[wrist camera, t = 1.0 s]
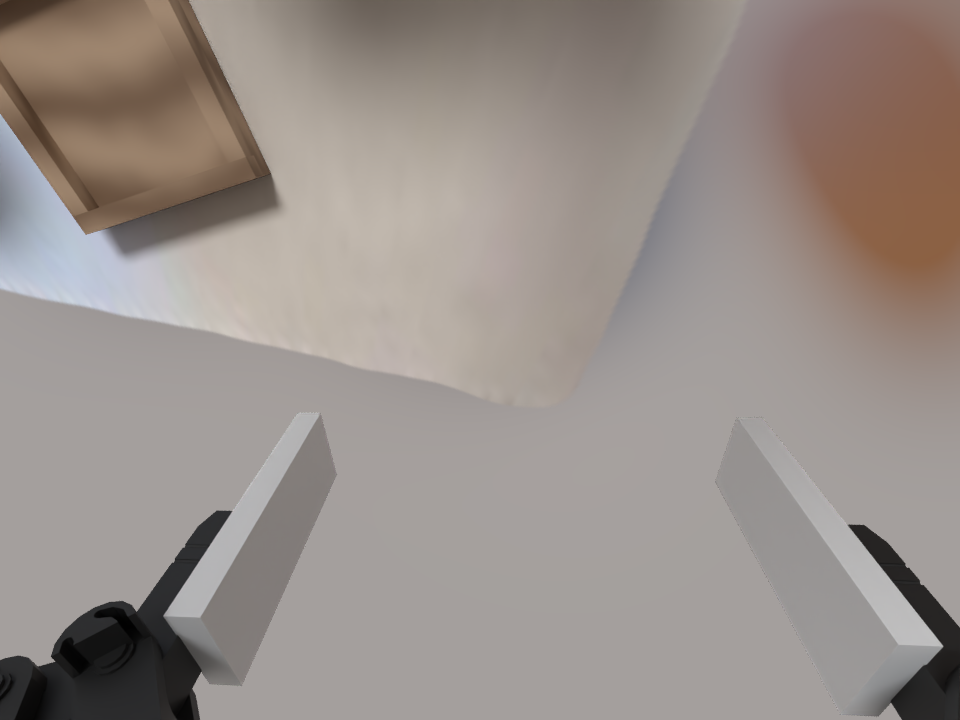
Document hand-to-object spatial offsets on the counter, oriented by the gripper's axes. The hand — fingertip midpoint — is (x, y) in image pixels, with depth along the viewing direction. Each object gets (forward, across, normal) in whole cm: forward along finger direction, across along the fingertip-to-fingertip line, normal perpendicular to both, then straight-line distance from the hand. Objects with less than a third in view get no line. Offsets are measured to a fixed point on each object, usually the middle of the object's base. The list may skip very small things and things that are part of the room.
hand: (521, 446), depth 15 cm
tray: (+26, -29, +11) cm, 41 cm away
